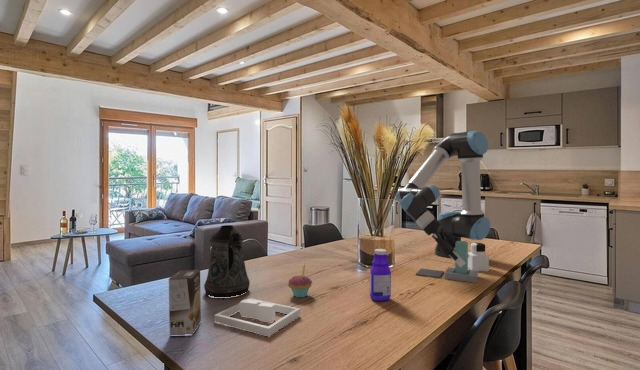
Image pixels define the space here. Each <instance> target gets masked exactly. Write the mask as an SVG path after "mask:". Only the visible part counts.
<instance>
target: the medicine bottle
mask: <svg viewBox="0 0 640 370" xmlns="http://www.w3.org/2000/svg"><path fill="white" fill-rule="evenodd" d="M468 255H469V257H468V270H477V271H478V272H489V270H490V265H489V264H490V256H489V255H488V254H486V244H485V243H483V242H473V243H471V244H470V251H468Z"/></svg>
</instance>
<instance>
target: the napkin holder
mask: <svg viewBox="0 0 640 370" xmlns="http://www.w3.org/2000/svg"><path fill="white" fill-rule="evenodd" d="M263 301H264V300H261V301H254V300H247V299H242V300H241V301H239V303H240V312H239V316H240V315H241V316H247V317H253V318H258V320H260V321H267V322H273V321H274V320H275V319H276V318H277V317H276V313H275V304H269V303H263ZM276 320H277V319H276Z"/></svg>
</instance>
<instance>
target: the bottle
mask: <svg viewBox="0 0 640 370" xmlns="http://www.w3.org/2000/svg"><path fill="white" fill-rule="evenodd" d="M371 263H372V265H371V267H370V270H369V296H370V299H371V300H373V301H375V302H384V301H385V302H386V301H389V300H390V298H391V296H392V295H391V293H392V292H391V290H392V288H391V287H392V272H391V268H390V266H389V264H390V262H389V260H388V256H387V250H386V249H384V248H376V249H374V257H373V259H372V261H371Z"/></svg>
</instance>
